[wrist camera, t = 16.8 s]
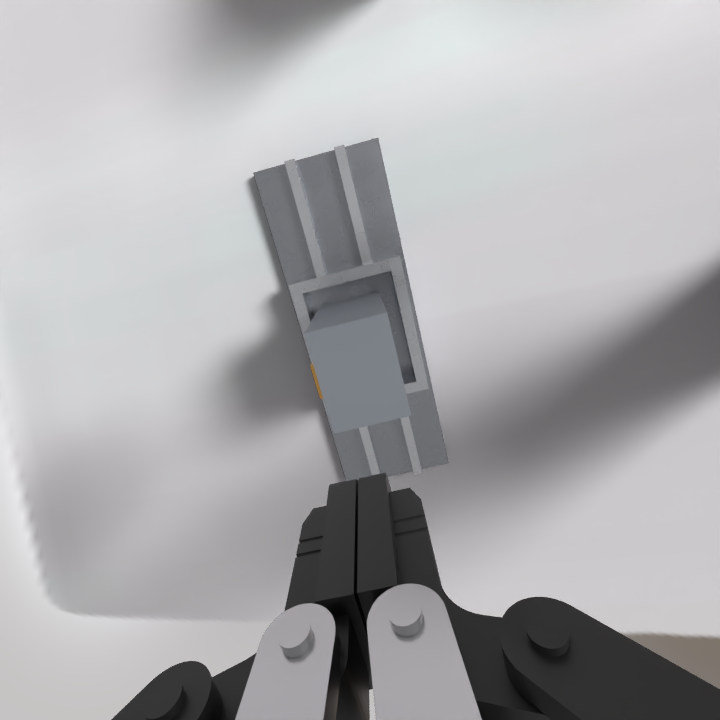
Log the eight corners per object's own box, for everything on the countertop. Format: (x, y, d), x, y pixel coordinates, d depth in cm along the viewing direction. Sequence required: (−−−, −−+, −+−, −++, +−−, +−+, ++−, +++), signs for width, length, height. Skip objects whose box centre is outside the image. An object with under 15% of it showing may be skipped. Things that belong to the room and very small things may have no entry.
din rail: (446, 458, 35) (453, 475, 32) (347, 480, 36) (347, 499, 33) (377, 140, 28) (379, 129, 25) (256, 174, 29) (245, 167, 26)
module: (395, 363, 32) (411, 415, 22) (337, 377, 32) (328, 434, 23) (377, 290, 30) (387, 312, 21) (317, 306, 30) (298, 334, 21)
